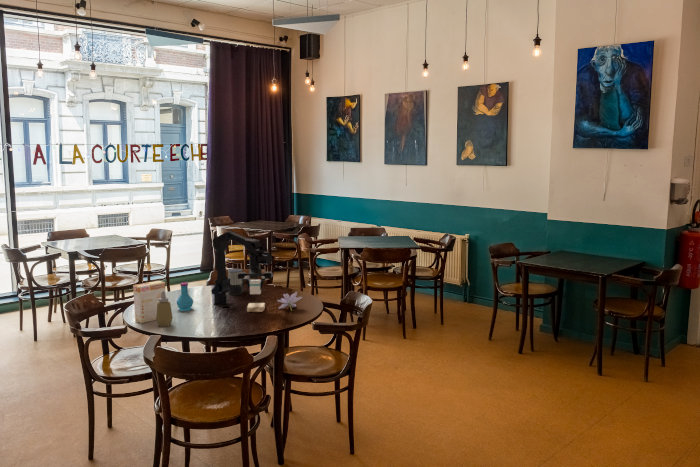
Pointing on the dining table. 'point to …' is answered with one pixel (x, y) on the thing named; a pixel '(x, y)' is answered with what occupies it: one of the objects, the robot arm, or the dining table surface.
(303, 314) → the dining table surface
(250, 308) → the block
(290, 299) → the water lily
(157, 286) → the coffeecake box
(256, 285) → the teal-striped cream cube
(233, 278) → the milk frother
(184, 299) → the perfume bottle
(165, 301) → the squeeze bottle
